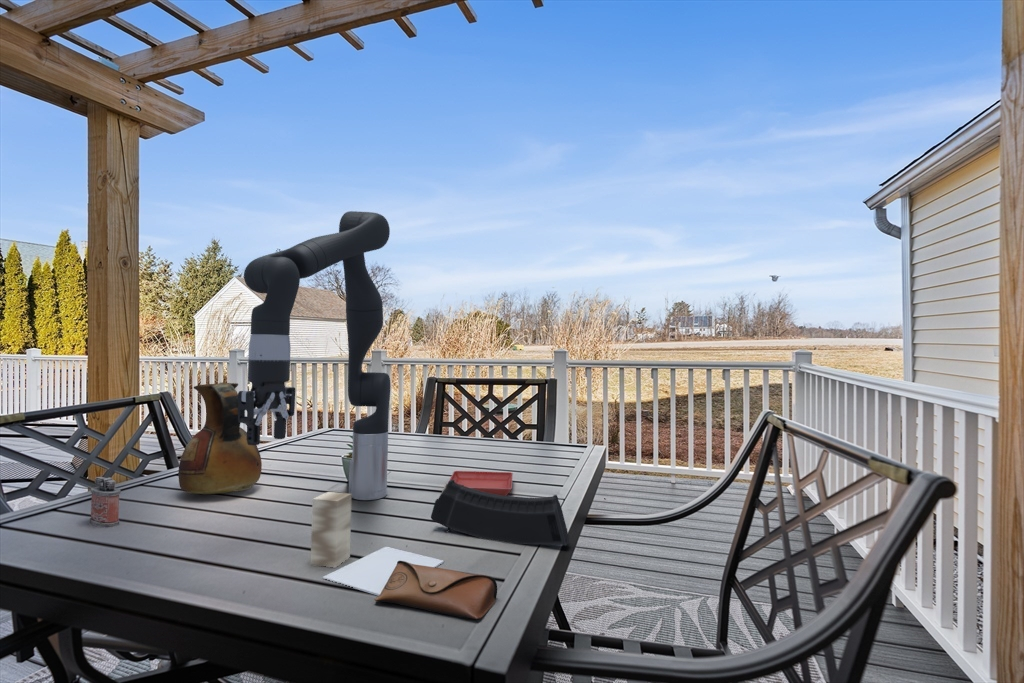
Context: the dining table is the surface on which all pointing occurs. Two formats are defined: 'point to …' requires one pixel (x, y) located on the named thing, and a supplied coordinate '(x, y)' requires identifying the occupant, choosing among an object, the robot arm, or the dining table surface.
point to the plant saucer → (485, 481)
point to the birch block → (330, 529)
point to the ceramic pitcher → (219, 447)
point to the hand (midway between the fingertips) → (267, 441)
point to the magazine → (501, 516)
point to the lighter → (105, 503)
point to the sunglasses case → (440, 590)
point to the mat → (377, 569)
